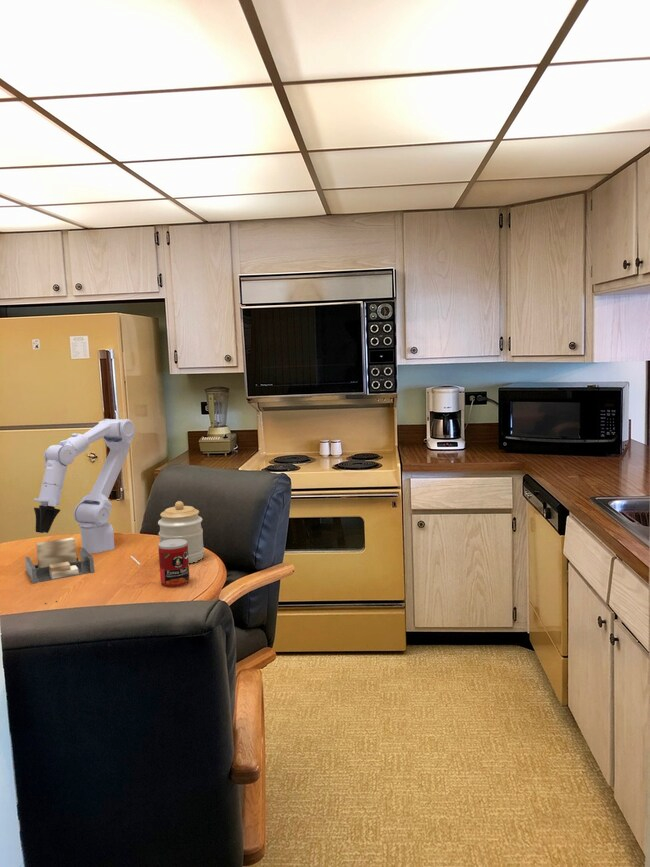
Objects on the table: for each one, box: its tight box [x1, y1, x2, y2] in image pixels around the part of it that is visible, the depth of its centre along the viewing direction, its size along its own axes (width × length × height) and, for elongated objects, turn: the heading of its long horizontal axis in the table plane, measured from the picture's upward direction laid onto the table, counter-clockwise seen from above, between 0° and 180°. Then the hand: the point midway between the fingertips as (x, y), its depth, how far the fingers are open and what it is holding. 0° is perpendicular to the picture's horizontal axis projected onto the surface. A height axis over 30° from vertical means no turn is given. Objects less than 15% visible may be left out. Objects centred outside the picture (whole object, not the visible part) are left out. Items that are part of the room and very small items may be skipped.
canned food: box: [158, 539, 190, 588], centre depth 184 cm, size 8×8×11 cm
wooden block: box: [35, 537, 77, 568], centre depth 197 cm, size 10×3×8 cm, turn 121°
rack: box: [24, 547, 95, 584], centre depth 194 cm, size 16×13×5 cm
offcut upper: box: [49, 562, 71, 573], centre depth 191 cm, size 5×3×2 cm
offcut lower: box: [49, 565, 79, 579], centre depth 191 cm, size 7×4×2 cm, turn 120°
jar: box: [157, 500, 205, 564], centre depth 205 cm, size 13×13×18 cm
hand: (41, 532), depth 196 cm, fingers open, 7 cm apart
